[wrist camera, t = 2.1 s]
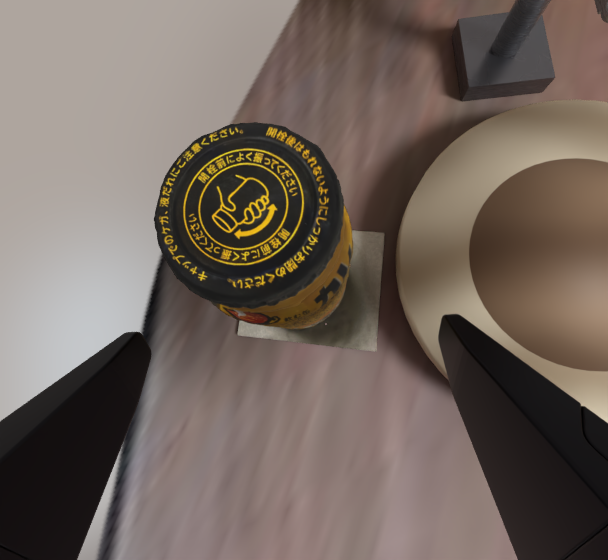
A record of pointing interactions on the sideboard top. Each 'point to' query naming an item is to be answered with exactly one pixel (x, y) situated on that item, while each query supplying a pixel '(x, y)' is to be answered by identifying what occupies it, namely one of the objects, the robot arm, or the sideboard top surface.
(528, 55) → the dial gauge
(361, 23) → the sideboard top surface
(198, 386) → the sideboard top surface
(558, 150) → the ring
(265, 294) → the condiment
